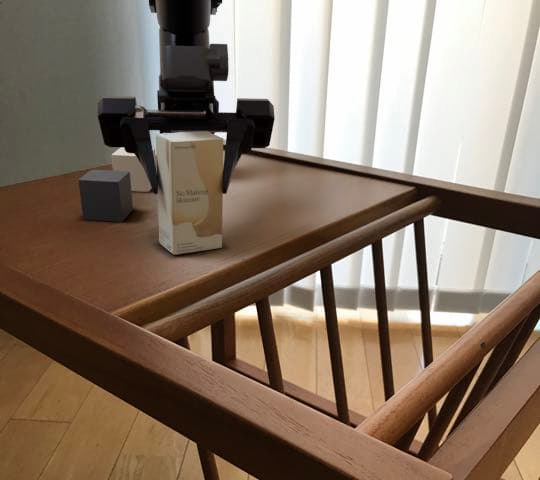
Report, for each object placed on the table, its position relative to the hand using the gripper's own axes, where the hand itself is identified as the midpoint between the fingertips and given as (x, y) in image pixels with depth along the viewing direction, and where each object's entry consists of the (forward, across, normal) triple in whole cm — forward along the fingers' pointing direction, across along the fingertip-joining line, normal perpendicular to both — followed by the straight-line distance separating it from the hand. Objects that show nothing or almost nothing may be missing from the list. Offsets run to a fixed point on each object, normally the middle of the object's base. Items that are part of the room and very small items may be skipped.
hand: (190, 192), depth 67 cm
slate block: (-5, -10, +14) cm, 18 cm away
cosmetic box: (+4, 0, +6) cm, 7 cm away
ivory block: (-14, -8, +23) cm, 28 cm away
